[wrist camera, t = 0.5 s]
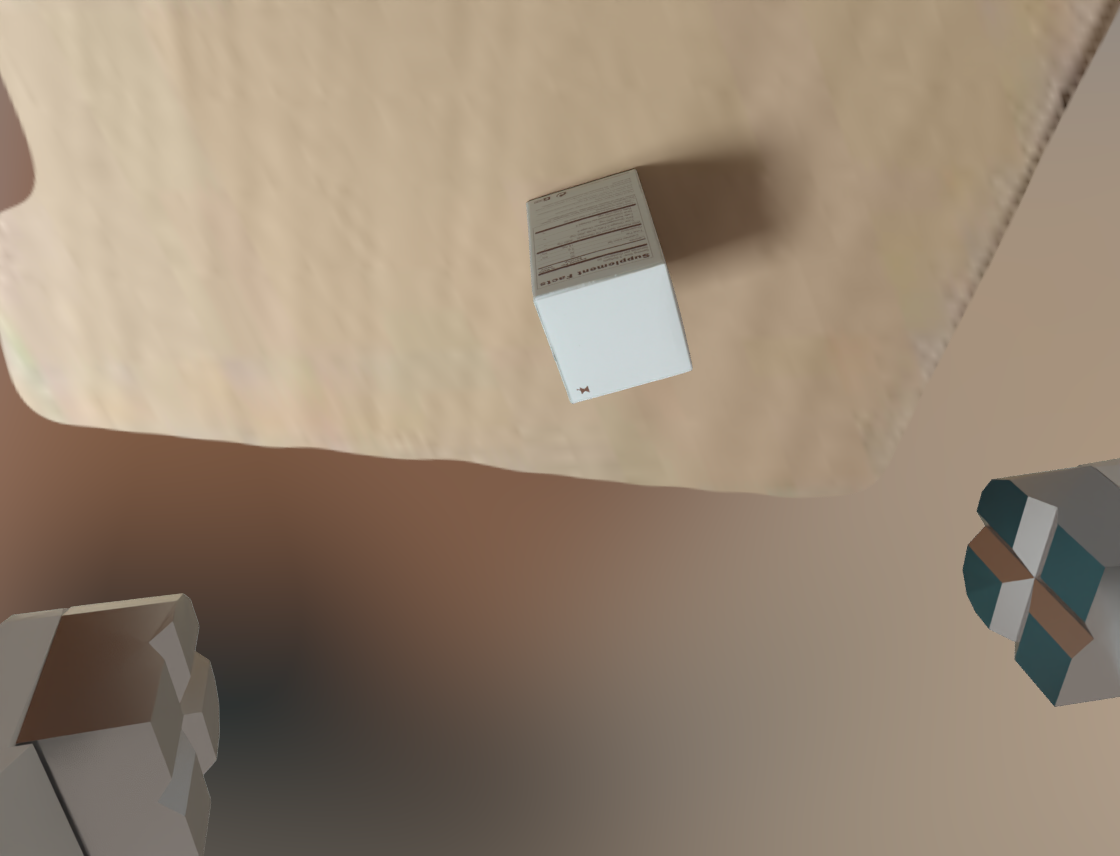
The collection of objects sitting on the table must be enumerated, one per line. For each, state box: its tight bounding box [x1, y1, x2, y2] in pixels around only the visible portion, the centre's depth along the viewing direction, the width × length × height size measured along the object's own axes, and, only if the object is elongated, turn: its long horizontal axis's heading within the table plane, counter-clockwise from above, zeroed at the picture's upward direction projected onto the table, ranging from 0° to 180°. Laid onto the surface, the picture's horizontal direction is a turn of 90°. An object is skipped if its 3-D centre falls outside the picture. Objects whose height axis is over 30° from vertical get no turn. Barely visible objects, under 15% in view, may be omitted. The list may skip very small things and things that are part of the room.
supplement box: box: [526, 169, 692, 404], centre depth 56 cm, size 7×7×13 cm
